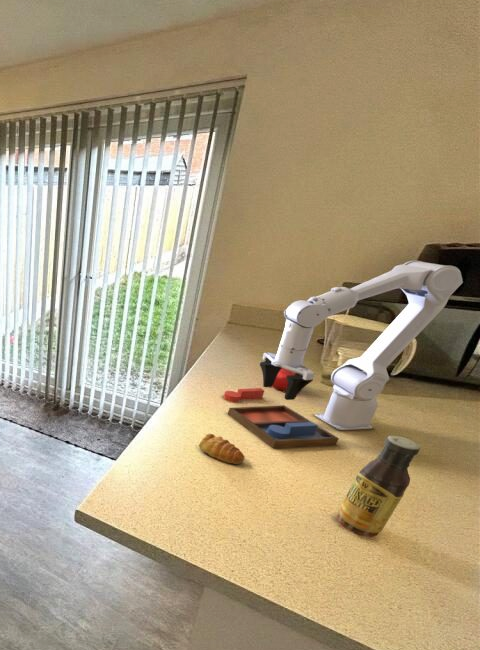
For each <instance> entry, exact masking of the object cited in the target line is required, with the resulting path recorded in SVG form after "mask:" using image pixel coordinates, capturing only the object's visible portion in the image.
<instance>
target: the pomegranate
mask: <svg viewBox="0 0 480 650" xmlns="http://www.w3.org/2000/svg"><path fill="white" fill-rule="evenodd" d="M287 375H295V373H293V372H290V371H288V370H286V369H284V368H281V370H280V371H279V373H278V374H277V376H276V379H275V382H274V384H273V386H272V388H274V389H276V390H279V391H286V390H287Z"/></svg>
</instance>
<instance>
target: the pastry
mask: <svg viewBox="0 0 480 650" xmlns="http://www.w3.org/2000/svg"><path fill="white" fill-rule="evenodd" d="M198 447H199V448H200V450H201V451H202V452H203V453H206V454H207V455H208V456H209V457H212V458H215V459H217V460H219V461H222V462H224V463H229V464H233V465H234V464H235V465H239V464H241V463H242V462H243V461H244V460H245V458H246V457H245V455H244V454H243V452H242V451H241V450H240V448H238V447H237V446H236V445H235V444H233V443H231V442H230V441H229V440H228V439H227V438H226V439H224V437H222V436H221V435H217V436H216V435H215V434H213V433H208V434H205V436H204V437H202V439H201V440H200V441H199V443H198Z"/></svg>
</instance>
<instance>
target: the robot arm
mask: <svg viewBox="0 0 480 650" xmlns="http://www.w3.org/2000/svg"><path fill="white" fill-rule="evenodd" d="M463 280H464V279H463V276H462V272H461V270H460V269H459V268H458V267H456V266H454V265H444V264H438V263H431V262H425V261H421V260H418V259H417V260H416V259H415V260H408V261H406V262H404V263H403V264H398V265H395V266H394V267H393V268H392V269H391V270H389V271H388V272H385V273H383V274H380V275H377V276H376V277H373V278H371V279H369V280H366V281H365V282H362V283H360V284H357V285H355V286H352V287H350V288H349V287H345V286H340V287H339V286H334V287H332V288H330V291H327V292H325V293H322V294H319V295H317V296H315V295H314V296H310V297H309V299H307V300H304V299H302V300H301V299H300V300H296V301H293V302H292V303H290V304H289V305H288V307H287V308H286V309H284V310H283V316H284V318H285V324H284V325H285V326H284V328H283V332H282V336H281V339H280V342H279V345H278V348H277V352H276V353H273V352H263V355H262V359H261V360H263V361H261V362H259V366H260V369H261V373H262V381H263V382H262V383H263V384H262V387H263V388H273V384H274V382H275V379H276V376H277V374H278V373H279V371H280V370H281V368H284V369H286V370H288V371H290V372H293V373H295V375H287V390H285V393H284V400H286V401H293V400H295V398H296V397H297V396H298V395H299V393H300V392H301V391H302V390H303V389H304V388H305V387H306V386H308V385H309V384H310V383H312V382H313V380H314V378H315V374H316V373H315V372H314V371H312V370H310V369H309V368H308V367H307V366H306V365H304V364H303V362H304V359H305V356H306V354H307V351H308V347H309V345H310V342H311V339H312V336H313V333H314V330H315V328H316V327H318V326H320V324H322V323H323V321H325V319H327V318H329V317H332V316H334V315H337V314H340V313H341V312H345V311H347V310H350V309H352V308H354V307H356V305H357V303H358V301H361V300H365V299H368V298H370V297H374V296H377V295H380V294H381V295H382V294H383V293H387V292H390V291H393V290H396V289H400V290H401V291H402V292H403V293H404V294H405V296H406V298H407V301H408V303H407V305H406V306H405V307H404V309H403V310H401V312H400V313H399V314H398V315H397V316H396V317H395V319H394V320H393V321H392V322H391V323H390V324H389V325H388V326H387V327H386V328H385V329H384V331H383V332H382V333H381V334H380V335H379V336H378V337H377V339H376V340H374V342H372V343H371V344H370V346H369V347H368V348H367V349H366V351H364V353H363V354H362V355H361V356H360V357H354V358H350V359H347V361H346V362H345V363H344V364H342V365H341V366H339V367H337V368H335V369H334V371H332V372H331V375H330V381H331V383H332V384H333V385H332V388H333V391H332V392H331V396H330V399H329V401H328V403H327V406H326V409H325V411H324V413H315V414H314V417H316V418H318V419H319V420H321V421H323V422H324V423H326V424H328V425H330V426H331V427H333V428H334V429H336V430H338V431H350V430H351V431H352V430H353V431H354V430H371V429H373V426H372V425H371V423H372V420H373V418H374V416H375V414H376V412H377V409H378V407H379V404H378V403H379V402H378V400H377V397H378V396H380V394H382V392H383V390H384V388H385V386H386V384H387V383H388V381H389V380H390V376H389V373H388V370H387V368H388V367H389V366H390V365H391V364H392V363H393V362H394V361H395V359H397V358H398V357H399V356H400V355H401V353H402V352H403V351H404V350H405V349H406V348H407V347H408V346H409V345H410V344H411V343H412V342H413V341H414V340H415V339H416V337H418V335H419V334H420V333H421V332H422V331H423V330H424V329H425V328H426V327H427V326H428V325H429V324H430V323H431V321H433V320H434V319H435V318H436V317H437V315H439V313H440V312H441V311H442V310H443V309H444V308H445V307H446V305H447V303H448V301H449V299H450V297H451V296H452V295H453V293H454V292H456V290H458V288H459V287H461V285H462V284H463V283H464V281H463Z"/></svg>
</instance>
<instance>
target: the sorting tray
mask: <svg viewBox="0 0 480 650" xmlns="http://www.w3.org/2000/svg"><path fill="white" fill-rule="evenodd" d="M227 415H229V416H230V417H231V418H232V419H233V420H235V421H237V422H238V423H239V424H240V425H242V426H243V427H244V428H246V429H247V430H248V431H249V432H251V433H252V434H254V435H255V436H256V437H257V438H258V439H260V440H261V441H263V442H264V443H265V444H267V445H268V446H269V447H270V448H272V449H284V448H287V449H288V448H305V447H306V448H307V447H324V446H325V447H327V446H337V444H338V441H339V440H340V439H339V437H337V436H336V435H334V434H333V433H331V432H329V431H328V430H326V429H325V428H323V427H321V426H319V425H318V427H317V429H316V432H315V435H308V436H288V438H287V439H276V438H273V437H272V436H270V435H269V434H268V433H267V431H268V428H269V426H270V425H279V426H282V427H285V424H286V423H300V422H312V421H311V420H309V419H308V418H306V417H304V416H303V415H301V414H299V413H298V412H297V411H294V410H293V409H291V408H290V407H288V406H286V405H284V404H282V405H281V404H280V405H263V406H261V405H260V406H238V407H237V406H236V407H229V408H228V412H227Z"/></svg>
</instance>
